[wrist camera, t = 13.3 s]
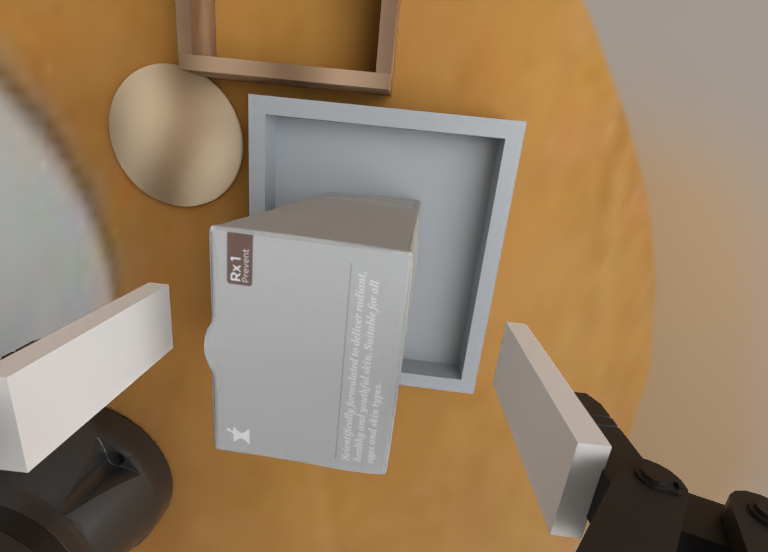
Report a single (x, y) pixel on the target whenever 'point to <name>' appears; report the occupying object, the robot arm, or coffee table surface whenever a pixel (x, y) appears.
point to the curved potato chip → (176, 135)
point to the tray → (406, 181)
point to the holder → (201, 60)
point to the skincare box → (312, 328)
